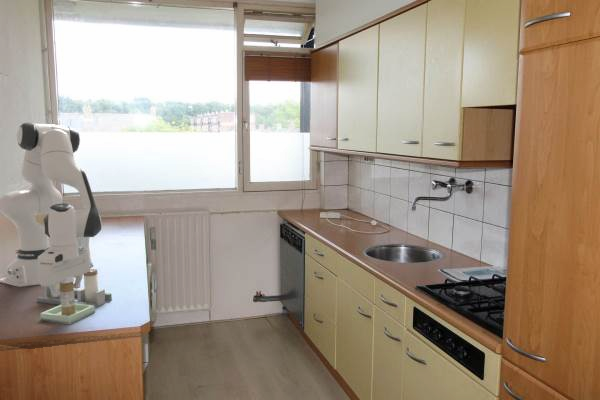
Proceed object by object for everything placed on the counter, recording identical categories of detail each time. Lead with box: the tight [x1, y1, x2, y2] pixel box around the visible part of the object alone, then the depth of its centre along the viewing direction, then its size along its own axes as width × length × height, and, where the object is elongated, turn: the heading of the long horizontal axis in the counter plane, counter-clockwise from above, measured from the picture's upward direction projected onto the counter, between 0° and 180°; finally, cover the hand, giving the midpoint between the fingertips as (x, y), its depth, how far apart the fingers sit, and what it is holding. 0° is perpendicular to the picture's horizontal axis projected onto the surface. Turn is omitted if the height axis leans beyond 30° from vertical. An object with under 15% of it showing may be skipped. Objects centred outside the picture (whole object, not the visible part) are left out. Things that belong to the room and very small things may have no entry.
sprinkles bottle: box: [59, 276, 76, 316], centre depth 180 cm, size 5×5×14 cm
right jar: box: [82, 268, 99, 305], centre depth 194 cm, size 5×5×12 cm
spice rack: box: [36, 286, 113, 307], centre depth 197 cm, size 25×10×5 cm, turn 71°
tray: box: [40, 303, 96, 325], centre depth 181 cm, size 12×12×2 cm
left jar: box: [50, 283, 60, 299], centre depth 199 cm, size 5×5×12 cm
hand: (66, 292), depth 180 cm, fingers open, 8 cm apart
